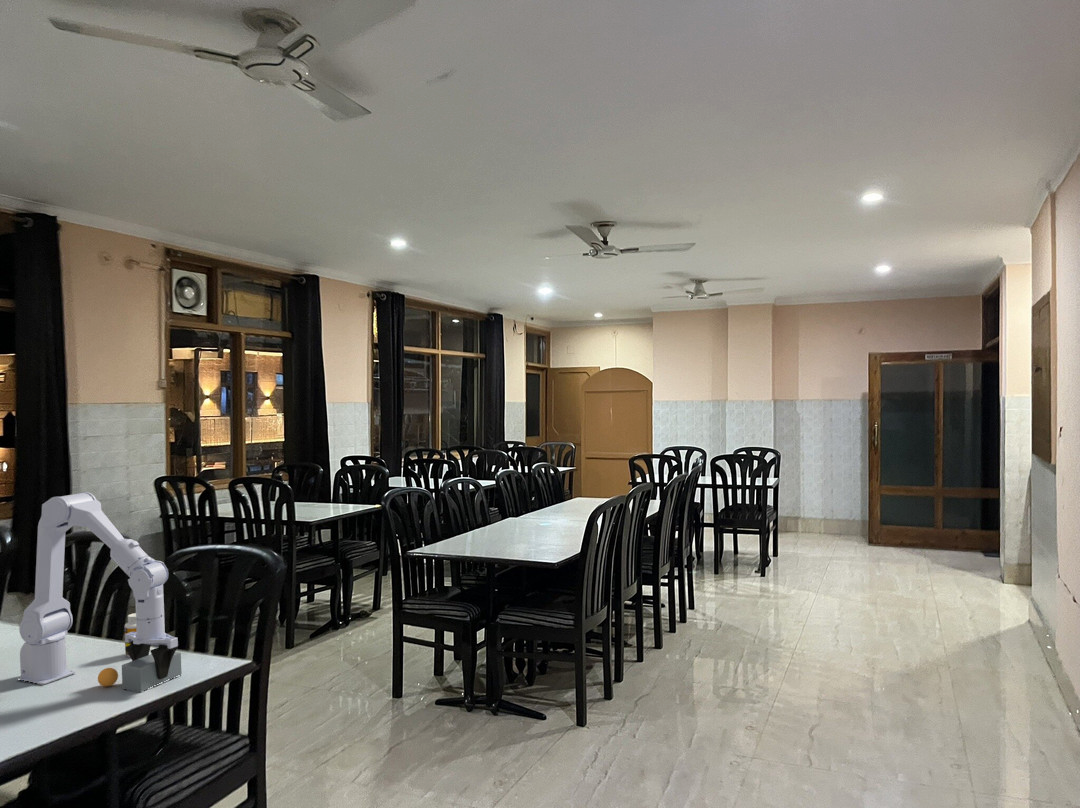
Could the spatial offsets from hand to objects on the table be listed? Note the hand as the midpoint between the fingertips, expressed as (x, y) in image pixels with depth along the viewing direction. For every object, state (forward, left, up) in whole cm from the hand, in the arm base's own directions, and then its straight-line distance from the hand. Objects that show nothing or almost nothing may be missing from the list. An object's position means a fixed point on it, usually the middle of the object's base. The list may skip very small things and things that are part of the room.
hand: (152, 676), depth 175 cm
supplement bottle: (-21, +13, -2) cm, 25 cm away
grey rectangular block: (0, 0, -1) cm, 1 cm away
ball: (-8, -5, +1) cm, 9 cm away
